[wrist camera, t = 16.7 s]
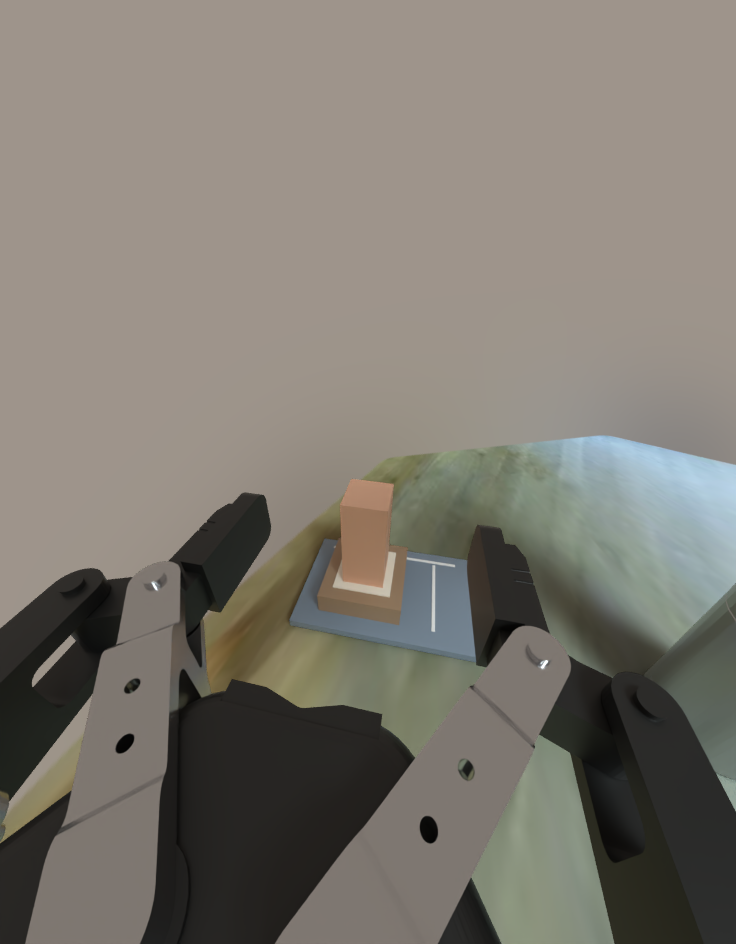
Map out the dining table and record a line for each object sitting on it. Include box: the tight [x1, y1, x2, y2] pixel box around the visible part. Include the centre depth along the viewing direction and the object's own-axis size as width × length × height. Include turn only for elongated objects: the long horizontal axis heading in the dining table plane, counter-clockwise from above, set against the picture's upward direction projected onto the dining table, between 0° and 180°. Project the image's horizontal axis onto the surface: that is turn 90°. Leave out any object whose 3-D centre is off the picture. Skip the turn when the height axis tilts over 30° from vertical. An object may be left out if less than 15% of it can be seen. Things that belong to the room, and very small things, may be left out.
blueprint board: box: [289, 537, 476, 662], centre depth 41 cm, size 22×14×4 cm, turn 79°
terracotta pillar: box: [340, 479, 394, 588], centre depth 37 cm, size 5×5×12 cm
